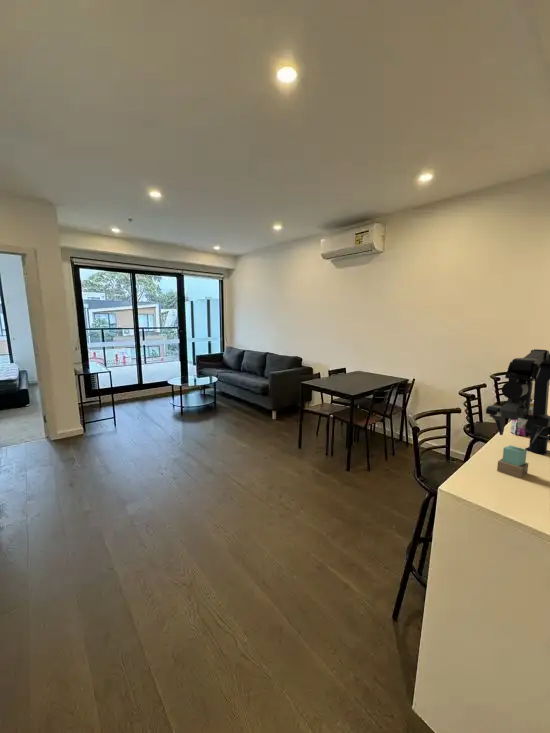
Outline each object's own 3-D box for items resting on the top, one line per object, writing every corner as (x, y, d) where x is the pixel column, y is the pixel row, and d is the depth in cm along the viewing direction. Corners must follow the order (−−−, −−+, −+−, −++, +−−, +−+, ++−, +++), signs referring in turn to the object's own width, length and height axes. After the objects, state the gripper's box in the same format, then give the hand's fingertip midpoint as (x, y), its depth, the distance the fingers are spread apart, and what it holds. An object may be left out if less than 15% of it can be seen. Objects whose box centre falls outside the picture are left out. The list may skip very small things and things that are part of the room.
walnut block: (504, 466, 119) (505, 456, 118) (527, 473, 113) (528, 463, 112) (496, 471, 114) (498, 461, 114) (520, 479, 109) (521, 468, 108)
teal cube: (509, 458, 116) (510, 445, 116) (525, 463, 112) (526, 449, 111) (502, 461, 114) (503, 447, 113) (518, 466, 110) (520, 452, 109)
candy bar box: (515, 435, 153) (519, 402, 151) (510, 432, 158) (513, 399, 156) (542, 437, 151) (546, 403, 148) (535, 434, 155) (539, 401, 153)
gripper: (479, 392, 114) (475, 434, 116) (542, 403, 98) (536, 452, 100) (495, 389, 120) (491, 430, 122) (558, 400, 104) (552, 446, 105)
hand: (515, 439), depth 112 cm, fingers open, 9 cm apart
